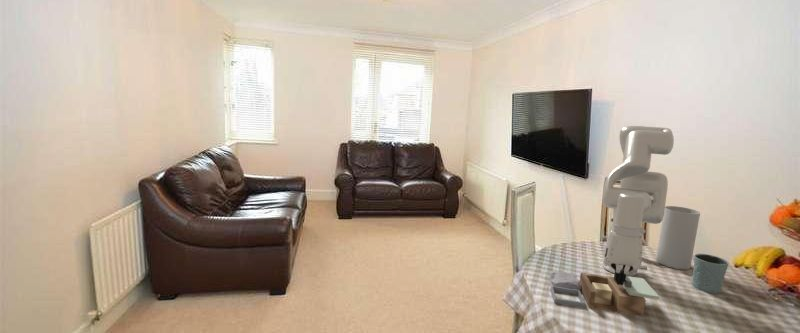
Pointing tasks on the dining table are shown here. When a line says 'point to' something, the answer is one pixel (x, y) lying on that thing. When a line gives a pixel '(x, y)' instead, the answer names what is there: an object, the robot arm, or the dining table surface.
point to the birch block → (602, 293)
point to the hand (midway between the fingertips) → (618, 283)
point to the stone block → (565, 280)
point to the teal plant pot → (709, 272)
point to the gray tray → (567, 302)
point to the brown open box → (618, 299)
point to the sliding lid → (639, 288)
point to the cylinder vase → (677, 237)
